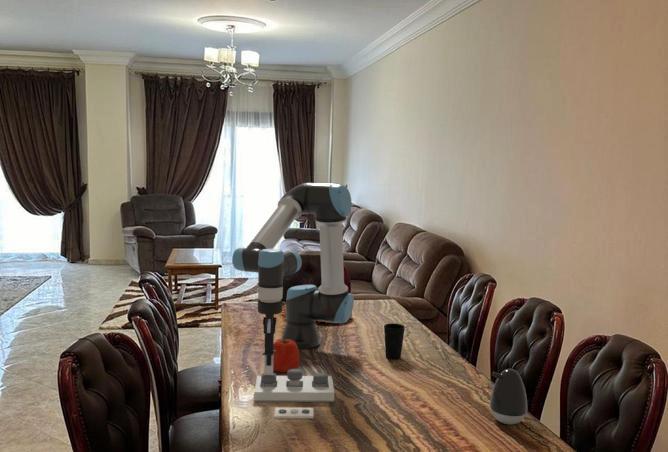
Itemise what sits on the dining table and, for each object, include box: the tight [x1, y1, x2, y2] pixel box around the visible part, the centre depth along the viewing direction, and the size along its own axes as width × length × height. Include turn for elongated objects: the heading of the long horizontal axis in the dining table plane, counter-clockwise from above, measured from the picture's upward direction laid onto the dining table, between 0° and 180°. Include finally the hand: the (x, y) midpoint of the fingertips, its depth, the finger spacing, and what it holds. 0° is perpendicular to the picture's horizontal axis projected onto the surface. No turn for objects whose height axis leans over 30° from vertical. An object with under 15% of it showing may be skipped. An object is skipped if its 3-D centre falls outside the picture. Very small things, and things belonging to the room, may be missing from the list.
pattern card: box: [274, 407, 315, 419], centre depth 171 cm, size 6×11×1 cm, turn 93°
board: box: [253, 375, 335, 403], centre depth 186 cm, size 14×24×3 cm, turn 93°
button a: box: [312, 372, 329, 387], centre depth 187 cm, size 5×5×5 cm
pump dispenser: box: [489, 368, 528, 425], centre depth 170 cm, size 10×10×15 cm
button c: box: [260, 372, 277, 387], centre depth 186 cm, size 5×5×5 cm
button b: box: [286, 368, 303, 387], centre depth 186 cm, size 5×5×5 cm
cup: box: [383, 322, 406, 361], centre depth 223 cm, size 8×8×12 cm
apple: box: [273, 339, 301, 373], centre depth 208 cm, size 11×11×11 cm
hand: (268, 374), depth 185 cm, fingers closed
